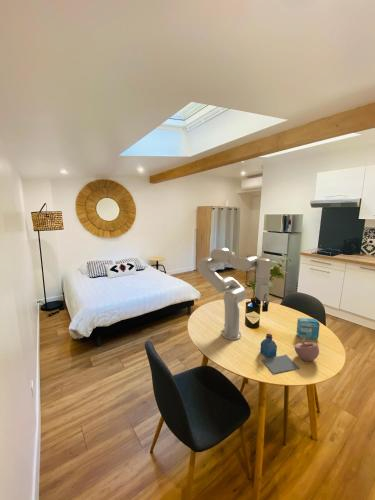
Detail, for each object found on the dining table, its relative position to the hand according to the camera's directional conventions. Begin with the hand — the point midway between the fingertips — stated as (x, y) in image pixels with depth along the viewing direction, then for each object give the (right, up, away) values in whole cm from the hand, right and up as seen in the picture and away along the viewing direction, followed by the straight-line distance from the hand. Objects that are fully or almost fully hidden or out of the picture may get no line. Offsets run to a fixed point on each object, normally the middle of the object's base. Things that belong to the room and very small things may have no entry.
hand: (261, 307), depth 132 cm
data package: (+35, -23, +16) cm, 45 cm away
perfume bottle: (+4, -27, -1) cm, 27 cm away
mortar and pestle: (+23, -28, -5) cm, 36 cm away
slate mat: (+7, -28, -10) cm, 31 cm away
